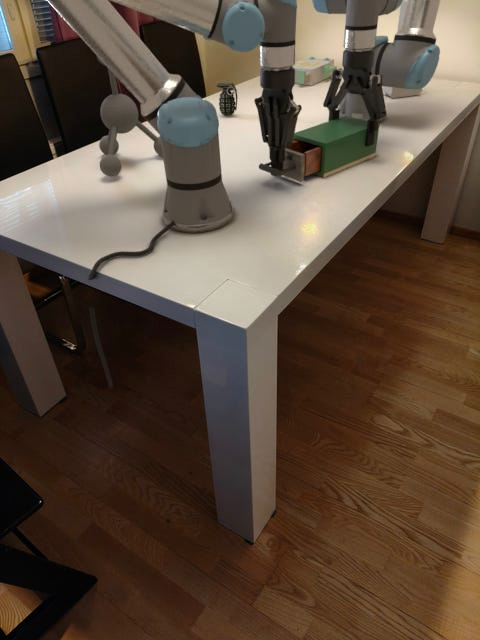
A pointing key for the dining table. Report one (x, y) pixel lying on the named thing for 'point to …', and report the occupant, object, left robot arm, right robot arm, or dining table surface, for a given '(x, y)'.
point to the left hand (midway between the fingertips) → (277, 174)
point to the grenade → (227, 99)
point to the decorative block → (313, 70)
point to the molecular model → (119, 126)
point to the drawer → (298, 161)
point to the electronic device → (394, 91)
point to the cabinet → (339, 143)
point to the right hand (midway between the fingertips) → (350, 140)
